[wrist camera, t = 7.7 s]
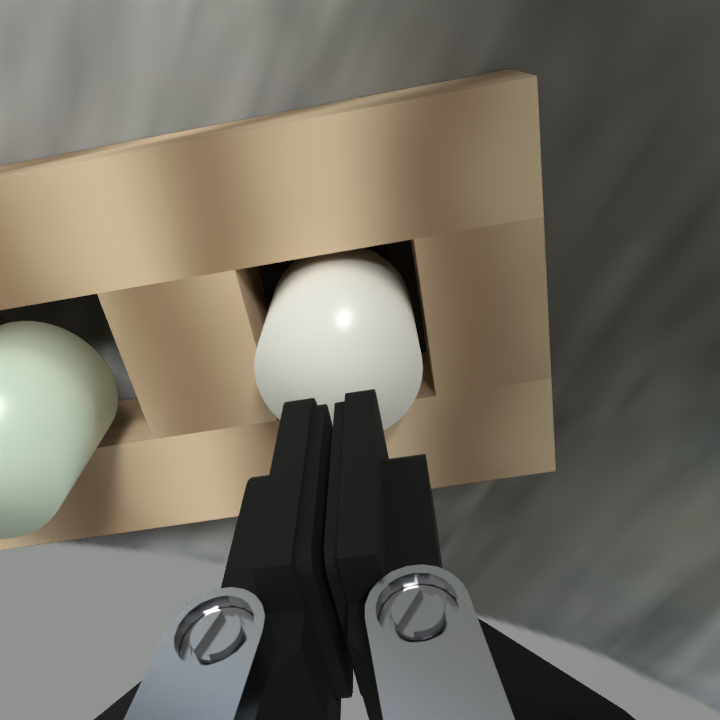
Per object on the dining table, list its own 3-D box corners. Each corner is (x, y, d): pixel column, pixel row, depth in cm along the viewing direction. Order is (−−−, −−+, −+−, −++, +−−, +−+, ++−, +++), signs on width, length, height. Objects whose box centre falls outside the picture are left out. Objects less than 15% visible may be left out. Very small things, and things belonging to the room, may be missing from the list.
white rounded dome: (400, 232, 19) (410, 279, 16) (419, 361, 21) (432, 428, 18) (257, 257, 20) (234, 308, 16) (289, 382, 22) (276, 452, 18)
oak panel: (510, 68, 18) (537, 75, 16) (533, 421, 24) (556, 471, 21) (-433, 247, 21) (-551, 281, 18) (-217, 532, 26) (-282, 590, 23)
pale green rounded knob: (86, 309, 18) (20, 378, 15) (138, 438, 20) (91, 526, 17) (-61, 334, 18) (-160, 407, 15) (4, 458, 20) (-70, 549, 17)
